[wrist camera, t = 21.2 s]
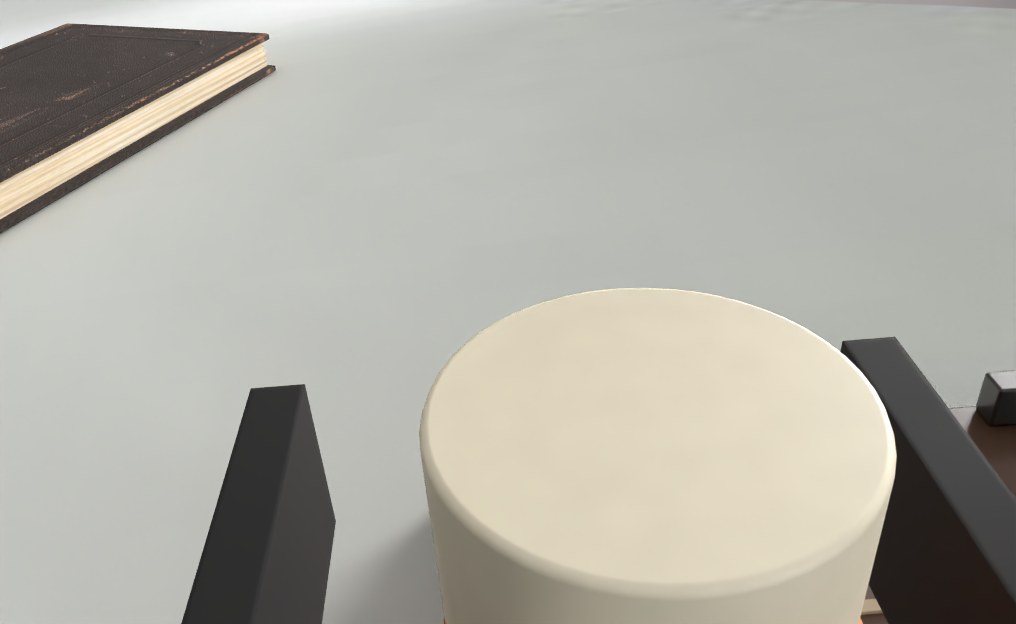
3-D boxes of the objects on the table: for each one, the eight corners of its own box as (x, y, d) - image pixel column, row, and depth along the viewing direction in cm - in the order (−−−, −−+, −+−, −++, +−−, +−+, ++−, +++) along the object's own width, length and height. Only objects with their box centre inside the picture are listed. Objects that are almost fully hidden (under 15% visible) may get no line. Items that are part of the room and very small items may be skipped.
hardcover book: (275, 70, 55) (268, 33, 54) (-21, 246, 37) (-43, 196, 36) (71, 57, 60) (60, 22, 59) (-277, 206, 42) (-304, 161, 41)
